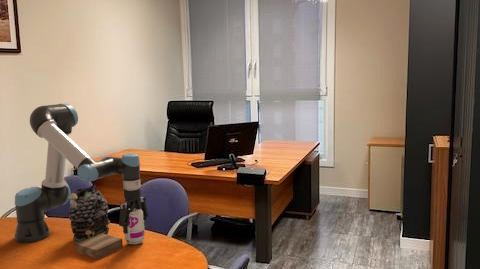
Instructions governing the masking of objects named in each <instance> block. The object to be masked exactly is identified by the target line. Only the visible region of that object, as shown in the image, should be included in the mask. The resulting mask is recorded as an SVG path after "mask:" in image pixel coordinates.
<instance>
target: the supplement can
mask: <svg viewBox="0 0 480 269" xmlns="http://www.w3.org/2000/svg"><path fill="white" fill-rule="evenodd" d="M128 209H129V208H128ZM129 210H130V209H129ZM125 224H126V223H125ZM128 226H130V240H129V241H128V240H125V242H126V243H128V244H130V245H137V244H142V242H143V241H145V234H144V230H145V226H144V223H143V211H142V210H141V208H140V209H136V208H134V209H133V211H132V212H130V214H129V224H128Z"/></svg>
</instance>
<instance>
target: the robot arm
mask: <svg viewBox="0 0 480 269" xmlns="http://www.w3.org/2000/svg"><path fill="white" fill-rule="evenodd" d="M78 122H79V115H78V112H77V111H76V108H74V106H73V105H71V104H69V103H59V104H49V105H41V106H38V107H36V108H35V109H33V111H31V114H30V116H29V126H30V128H31V129H32V131H33V132H34V133H35V135H36V136H38V137H39V138H43V139H45V141H46V142H48V143H47V144H48V145H47V152H46V153H47V155H46V167H45V178H44V179H43V180H41V186H40V187H39V186H30V187H26V188H24V189H21V190H19V191H18V192H16V194H15V196H14V205H15V213H16V214H15V215H16V227H15V228H16V229H15V233H14V241H15V242H16V243H21V244H22V243H24V244H25V243H33V242H38V241H41V240H44V239H46V238H47V237H49V235H50V228H49V226H48V224H47V223H46V220H45V214H44V213H45V212H47V211H50V210H53V209H56V208H60V207H62V206H64V205H66V204H67V203H68V202H70V199H69V196H70V195H71V194H72V192H71V189H70V185H69V184H68V183H67V182H68V181H67V180H66V179H65V170H66V160H67V161H68V162H69V163H70V164H71V165H72V166H73V167H75V169H77V176H78V179H79V180H80V181H81V182H84V183H89V182H94V181H96V180H99V179H102V178H105V177H106V178H107V177H109V176H112V175H120V176H122V185H123V186H122V187H123V197H124V202H123V203H119V221H118V226H119V227H122V231H123V234H124V240H125V241H126V240H128V241H129V240H130V226H128V224H129V214H130V212H132V211H133V209H134V208H136V209H140V208H141V210H142V211H143V223H144V227H145V226H146V220H147V218H148V217H149V214H148V208H147V202H146V199H147V198H146V197H145V196H142V188H141V168H140V167H141V163H140V162H141V161H140V156H139V154H137V153H125V154H123V155H122V156H121V157H119V156H117V157H116V156H104V157H103V158H101V159H100V160H97V161H96V160H95V159H94V158H93V157H91V156H90V155H89V154H88V153H87V152H86V151H85V150H84V149H83V148H81V147H80V146H79V145H78V144H77V143H76V142H75V141H74V139H71V137H69V135H71V134H72V131H73V127H75V126H76V125H78ZM128 208H129V209H130V210H129V209H128ZM125 223H126V224H125ZM145 231H146V230H145V229H144V235H145V234H146V232H145Z"/></svg>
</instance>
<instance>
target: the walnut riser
mask: <svg viewBox="0 0 480 269" xmlns="http://www.w3.org/2000/svg"><path fill="white" fill-rule="evenodd" d="M123 243H124V242H123V238H120V237H118V236H113V235H109V234H102V233H101V234H98V235H96V236H94V237H91V238H89V239H86V240H84V241H81V242H79V243H76V242H75V252H76V253H77V254H80V255H83V256H87V257H89V258H93V259H95V260H99V259H101V258H104V257H106V256H108V255H110V254H112V253H114V252H116V251H118V250H120V249H122V248H124V244H123Z"/></svg>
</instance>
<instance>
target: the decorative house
mask: <svg viewBox="0 0 480 269" xmlns="http://www.w3.org/2000/svg"><path fill="white" fill-rule="evenodd" d="M96 187H97V186H96V185H95V184H92V185H91V186H90V187H87V188H84V189H83V188H82V189H81V188H79V189H77V190H76V193H75V192H71V195H70V196H69V204H70V206H69V211H68V215H69V216H68V218H69V221H70V227H71V230H72V234H73V242H74V243H75V244H76V243H79V242H81V241H84V240H86V239H89V238H91V237H94V236H96V235H98V234H101V233H102V234H106V235H109V234H108V233H109V231H110V227H109V225H110V224H111V220H109V218H108V216H109V215H108V212H109V211H108V210H109V206H108V201H107V199H106V198H105V196H104V195H103V194H102V193H101V192H100V191H99V190H97V189H96Z"/></svg>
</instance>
